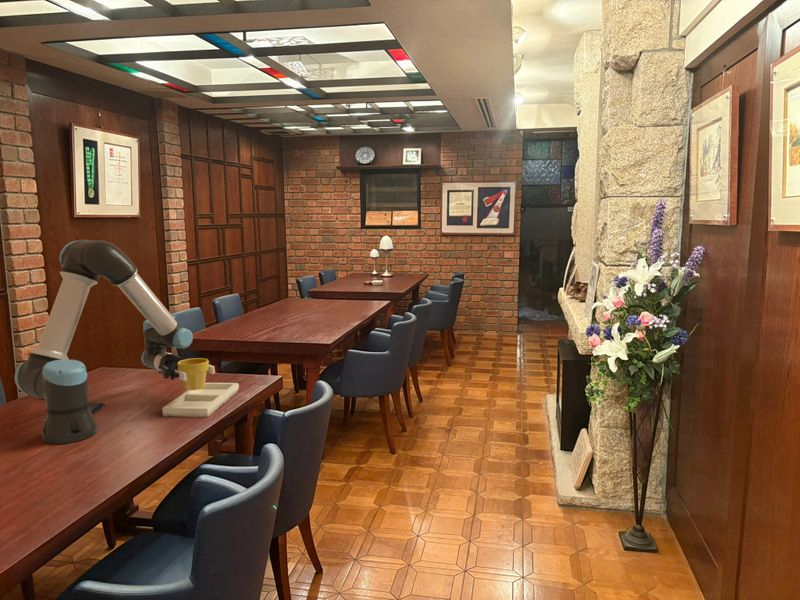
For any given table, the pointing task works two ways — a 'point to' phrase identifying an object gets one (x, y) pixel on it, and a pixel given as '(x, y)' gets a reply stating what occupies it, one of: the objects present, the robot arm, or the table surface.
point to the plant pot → (194, 372)
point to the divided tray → (201, 400)
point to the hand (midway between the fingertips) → (199, 373)
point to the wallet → (91, 408)
